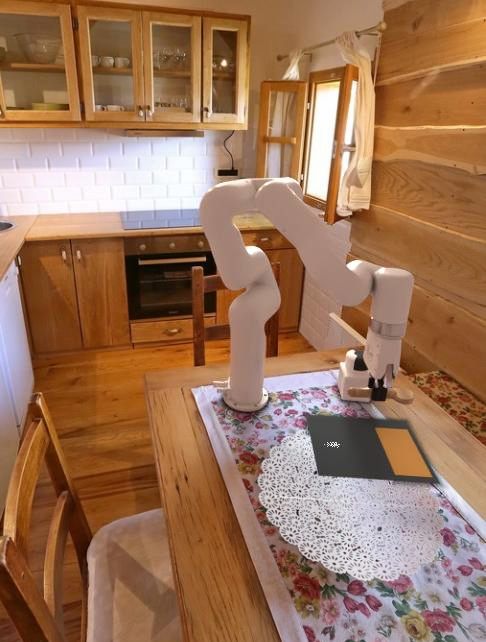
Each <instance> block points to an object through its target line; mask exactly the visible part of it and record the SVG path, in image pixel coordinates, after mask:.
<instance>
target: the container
mask: <svg viewBox="0 0 486 642" xmlns="http://www.w3.org/2000/svg"><path fill="white" fill-rule="evenodd" d="M363 354H364V350H361V349H351V350H349V351H347V352H346V355H345V361H344V362H340V363H339V369H338V375H337V376H338V377H337V382H336V383H337V387H338V391H339V394H340V395H339V396H340V398H341V400H342V401H352V402H354V401H355V402H364V403H365V402H366V403H367V402H368V403H369V402H370V401H371V398H359V397H350V396H349V395H348V393H347V391H348V389H349V388H351V387H356V388H368V381H369V377H370V376H369V369H368V367H367V365H366V363H365V361H364V358H363Z"/></svg>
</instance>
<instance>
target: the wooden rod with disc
mask: <svg viewBox="0 0 486 642" xmlns="http://www.w3.org/2000/svg"><path fill="white" fill-rule="evenodd" d="M347 393H348V395H349V396H350V397H359V398H370V399H371V393H372V388H356V387H351V388H349V389H348V391H347ZM386 400H393V401H395V402H396V403H398V404H400V405H405V406H406V405H407V406H408V405H411V404H413V403H414V400H415V394H414V392H412V391H411V390H410V389H408V388H405V387H395V388H388V390H387V396H386Z"/></svg>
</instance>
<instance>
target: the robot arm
mask: <svg viewBox="0 0 486 642" xmlns="http://www.w3.org/2000/svg"><path fill="white" fill-rule="evenodd" d="M303 200H304V190H303V189H302V187H301V185H300V183H299V182H297V181H296V180H295V179H293V178H290V177H272V178H271V177H267V178H266V177H265V178H261V177H259V178H258V177H257V178H240V179H235V180H230V181H229V180H228V181H224V182H221V183H217V184H216V185H213V186H212V187H210V188H209V189H208V190H207V191H206V192H205V193H204V195H203V196H202V199H200V203H199V207H198V219H199V224H200V226H201V229H202V231H203V232H204V236H205V238H206V239H207V242H208V245H209V248H210V251H211V254H212V257H213V259H214V262H215V265H216V268H217V271H218V274H219V277H220V279H221V282H222V283H223V285H224V286H225V287H226V288H227V289H229V290H230V291H241V290H243V289H245V291H243V292H242V293H240V294H239V295H238V296H237V297H235V298H234V300H232V302H231V304H230V306H229V309H228V313H227V314H228V315H227V317H228V324H229V330H230V343H229V344H230V346H229V374H228V375H229V376H228V379H227V380H224V381H219V380H213V383H212V388H213V389H216V393H219V394H222V398H223V401H224V402H225V404H226V405H227V406H228V407H230V408H231V409H234V410H235V411H240V412H246V413H247V412H255V411H259V410H261V409H264V407H265V406H266V405H267V404H268V402H269V392H268V391H267V389H266V388H264V382H265V368H266V355H267V353H266V352H267V336H266V332H265V331H266V330H265V326H266V323H267V321H268V320H269V319H271V317H272V316H274V315H275V314H276V313H277V312H278V310H279V309H280V307H281V302H282V297H281V292H280V289H279V286H278V282H277V279H276V277H275V274H274V271H273V268H272V264H271V262H270V260H269V258H268V256H267V255H266V253H265V252H264V251H263V250H262V249H261V248H260V247H257V246H255V245H247V246H246V245H245V242H244V239H243V235H242V233H241V231H240V230H239V228H238V227H237V225H236V223H234V221H233V218H234V217H236V216H239V215H242V214H245V213H248V212H260V214H261V215H263V217H265V219H266V220H268V222H269V223H270V224H271V225H272V226H273V227H275V229H276V230H278V232H279V233H280V234H281V235H282V236H283V237H284V238H285V239H286V240H287V241H288V242H289V243H290V244H291V245H292V246H293V247H294V248H295V249H296V250H297V253H298V255H299V258H300V260H301V262H302V264H303V265H304V268H305V269H306V271H307V273H308V274H309V276H310V277H311V278H312V280H313V281H314V282H315V283H316V284H317V285H318V286H319V288H321V289H322V290H323V291H324V292H325V293H326V294H327V296H329V297H330V298H331V299H332V300H333V301H335V302H337V303H338V304H340V305H342V306H344V307H357V306H358V305H361V304H362V303H364V301H365V300H366V299H367V298H368V296H371V298H372V299H371V305H370V312H369V313H370V314H369V321H368V327H367V329H368V330H367V334H366V337H365V343H364V349H363V351H364V354H363V358H364V361H365V363H366V365H367V367H368V369H369V376H370V377H369V381H368V388H372V393H371V398H370V401H371V402H382V403H383V402H386V401H387V399H386V396H387V390H388V389H393V381H395V380H397V378H398V375H399V371H400V364H401V356H402V344H403V343H402V341H403V339H402V338H404V337H405V336H406V331H407V325H408V319H409V314H410V309H411V304H412V303H411V302H412V298H413V296H412V295H413V293H414V291H413V290H414V287H415V286H414V285H415V277H414V275H413V274H412V273H411V272H410V271H408V270H406V269H402V268H397V267H385V266H382V265H379V264H374V263H372V262H369V261H366V260H365V261H364V260H353V261H350V262H349V263H347V264H346V263H345V261H343V260H342V259H341V257H339V255H338V254H337V252H336V251H335V250H334V249H333V247H332V245H331V243H330V241H329V237H328V229H327V226H326V223H325V221H324V220H323V219H322V218H321V216H319V215H318V214H317V212H315V211H314V210H313V209H312V208H311V207H309V206H308V204H306V202H304V201H303Z"/></svg>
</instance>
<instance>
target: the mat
mask: <svg viewBox="0 0 486 642" xmlns="http://www.w3.org/2000/svg"><path fill="white" fill-rule="evenodd" d="M305 419H306V423H307V427H308V432H309V437H310V443H311V446H312V452H313V456H314V460H315V466H316V471H317V475H318V476H319V477H320V476H321V477H335V478H350V479H366V480H378V481H379V480H380V481H395V482H408V483H409V482H411V483H424V484H436V485H437V484H438V485H439V484H441V482H440V480H439V479H438V477H437V475H436V473H435V471H434V469H433V468H432V466H431V464H430V462H429V460H428V459H427V456H426V455H425V453H424V451H423V449H422V447H421V445H420V444H419V442H418V440H417V439H416V436H415V434H414V433H413V431H412V429H411V427H410V425H409V424H408V421H407V420H402V419H384V418H365V417H352V416H351V417H349V416H336V415H335V416H333V415H320V414H319V415H317V414H316V415H315V414H305ZM327 442H328V443H329V444H330V445H331V443H332V442H334V443H335V442H337V445H338V444H340V445H338V446H339V447H338V446H335V447H334V446H333V445H334V443H332V444H333V445H332V446H333V447H332V446H330V445H329V444H328V443H327ZM330 442H331V443H330ZM324 444H325V445H324ZM327 444H328V445H329V446H328V445H327ZM335 444H336V443H335ZM327 446H328V447H327ZM337 447H338V448H337Z"/></svg>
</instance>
